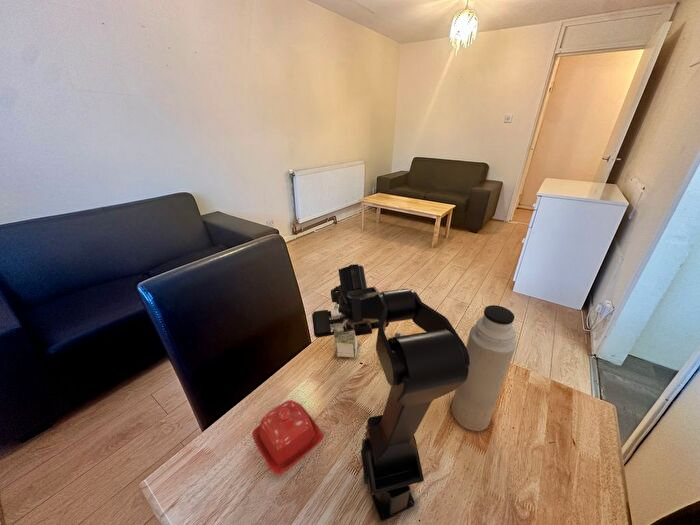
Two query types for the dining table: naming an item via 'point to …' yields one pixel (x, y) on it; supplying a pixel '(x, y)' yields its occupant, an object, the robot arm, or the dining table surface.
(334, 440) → the dining table surface
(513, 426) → the dining table surface
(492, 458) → the dining table surface
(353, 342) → the syrup box
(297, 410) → the butter dish
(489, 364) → the thermos bottle
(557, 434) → the dining table surface
